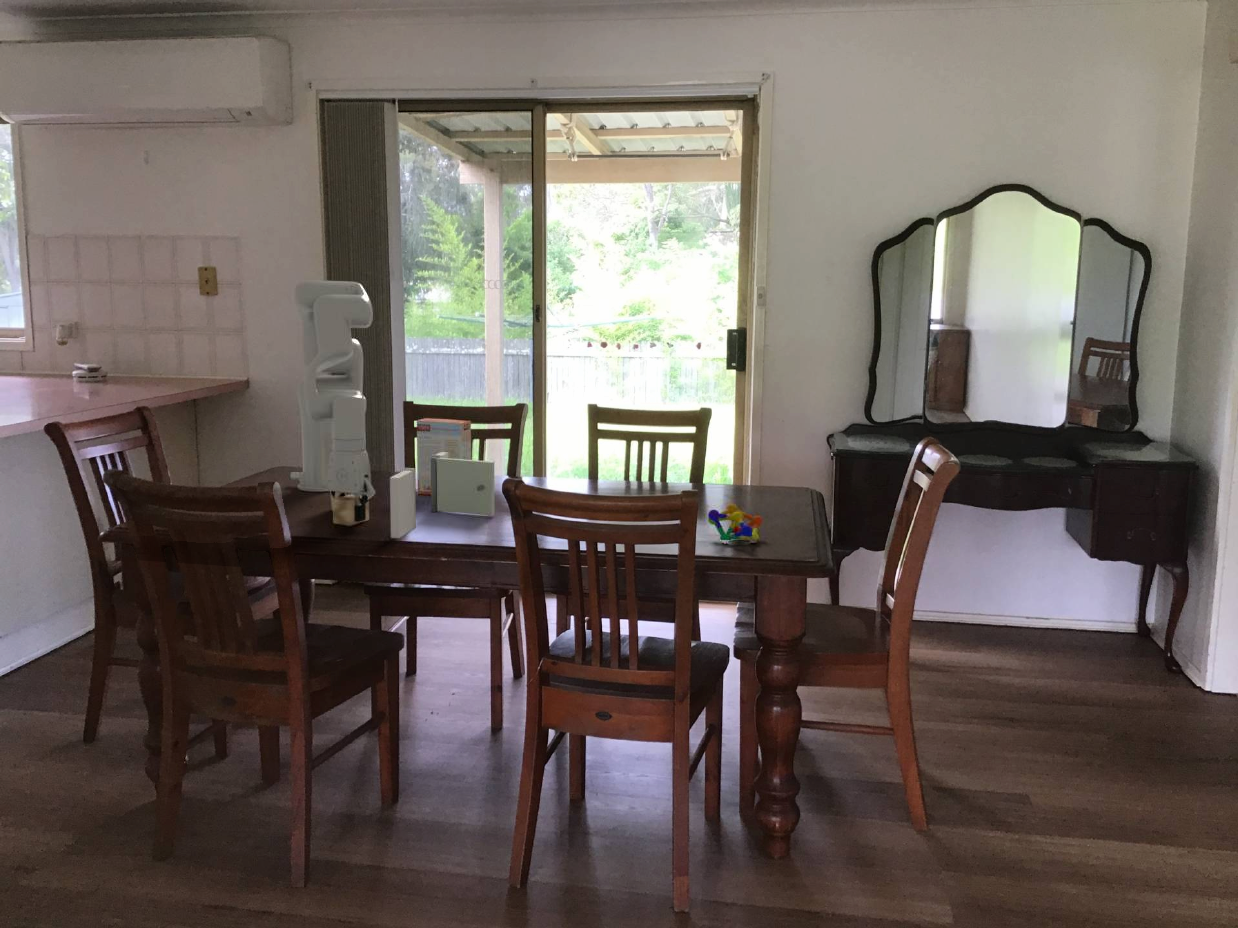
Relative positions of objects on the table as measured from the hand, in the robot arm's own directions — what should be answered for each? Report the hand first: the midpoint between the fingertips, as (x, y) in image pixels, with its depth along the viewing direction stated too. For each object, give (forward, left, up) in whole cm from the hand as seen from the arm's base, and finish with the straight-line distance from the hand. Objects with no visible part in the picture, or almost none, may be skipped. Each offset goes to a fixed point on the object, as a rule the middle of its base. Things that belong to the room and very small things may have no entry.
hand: (351, 518), depth 240 cm
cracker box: (+12, +36, -1) cm, 38 cm away
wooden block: (0, 0, -1) cm, 1 cm away
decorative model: (+93, +2, -1) cm, 93 cm away
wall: (+16, +6, -1) cm, 17 cm away
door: (+24, +13, -1) cm, 27 cm away
